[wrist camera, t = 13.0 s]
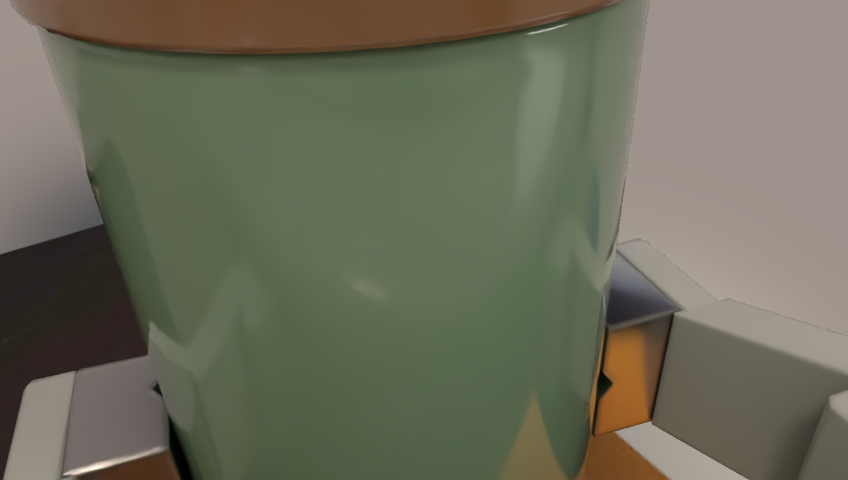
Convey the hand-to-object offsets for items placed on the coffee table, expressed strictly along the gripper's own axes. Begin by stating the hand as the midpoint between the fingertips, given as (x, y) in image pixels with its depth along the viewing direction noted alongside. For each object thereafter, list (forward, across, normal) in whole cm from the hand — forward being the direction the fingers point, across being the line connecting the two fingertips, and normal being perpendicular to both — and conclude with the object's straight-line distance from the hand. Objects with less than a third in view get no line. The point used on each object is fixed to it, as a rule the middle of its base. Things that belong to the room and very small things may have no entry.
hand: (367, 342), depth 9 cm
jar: (-1, 0, +7) cm, 7 cm away
